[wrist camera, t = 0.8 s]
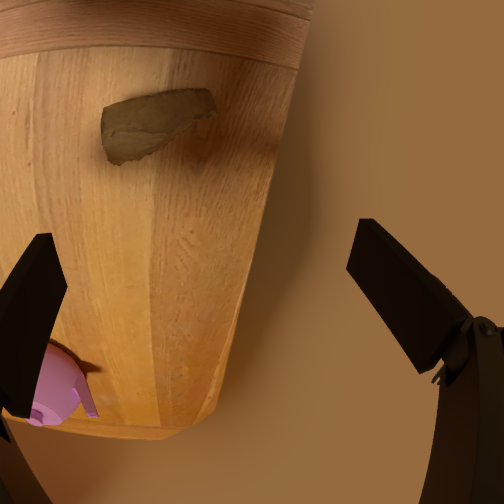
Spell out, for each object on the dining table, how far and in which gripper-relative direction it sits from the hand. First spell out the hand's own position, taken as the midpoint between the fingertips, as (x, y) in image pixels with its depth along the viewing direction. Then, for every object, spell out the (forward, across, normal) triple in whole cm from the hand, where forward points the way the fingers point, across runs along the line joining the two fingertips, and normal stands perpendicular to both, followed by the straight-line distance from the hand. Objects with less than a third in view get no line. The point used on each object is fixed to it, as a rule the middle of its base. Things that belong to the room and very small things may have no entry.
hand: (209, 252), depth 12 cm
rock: (+20, -3, +2) cm, 20 cm away
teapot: (+19, -28, -33) cm, 47 cm away
